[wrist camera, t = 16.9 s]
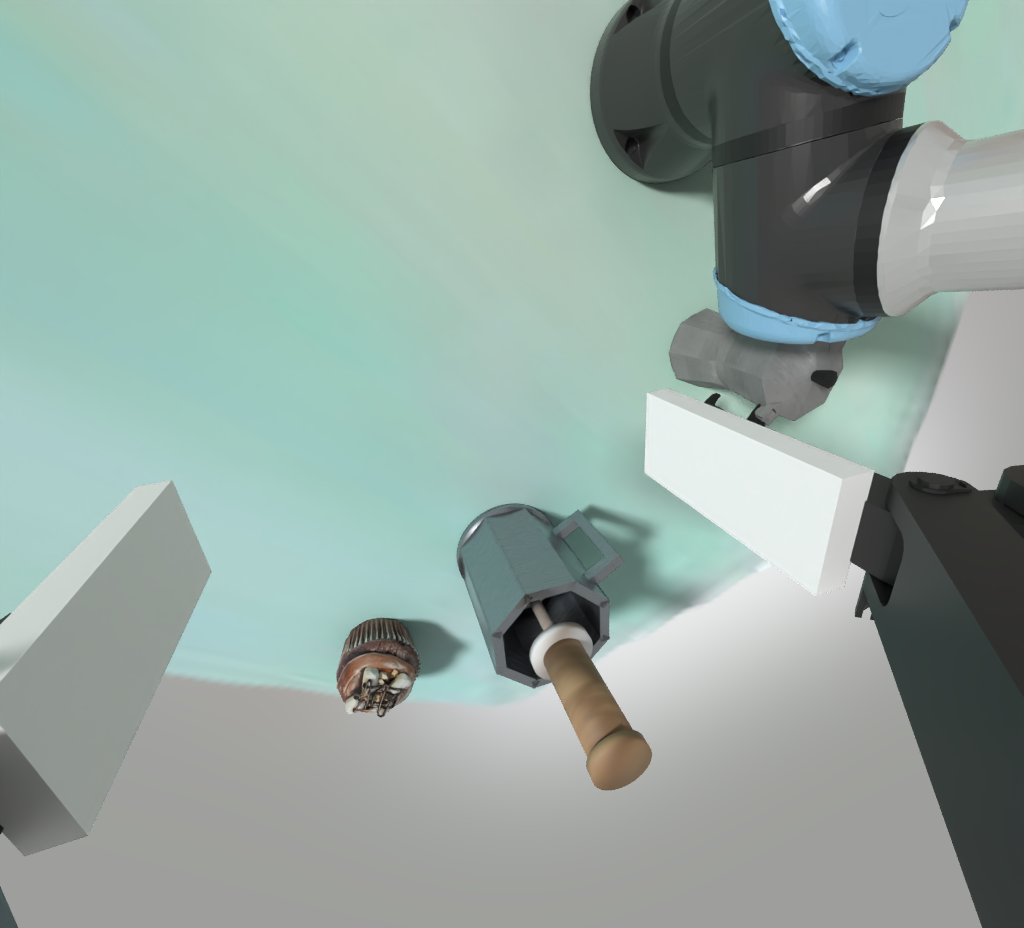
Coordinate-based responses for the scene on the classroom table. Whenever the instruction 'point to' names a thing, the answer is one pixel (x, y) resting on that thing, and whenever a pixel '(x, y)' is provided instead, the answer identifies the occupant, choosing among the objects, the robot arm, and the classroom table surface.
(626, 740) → the plunger
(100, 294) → the classroom table surface
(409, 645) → the cupcake
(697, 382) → the coffeepot
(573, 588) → the press carafe
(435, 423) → the classroom table surface
